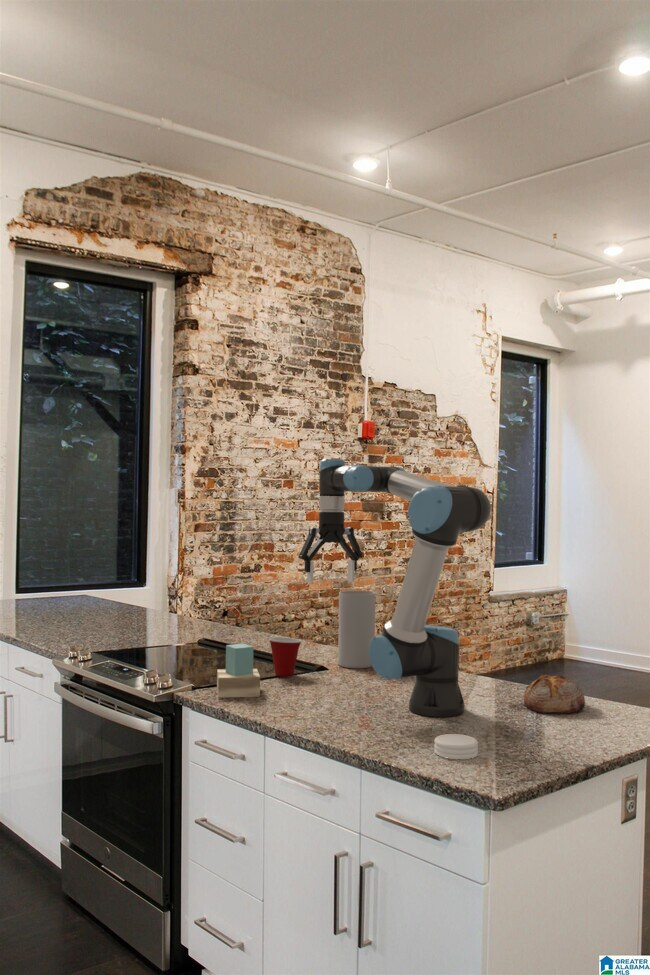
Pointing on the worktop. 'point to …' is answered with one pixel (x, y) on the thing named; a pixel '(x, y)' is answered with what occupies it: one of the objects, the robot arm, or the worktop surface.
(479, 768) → the worktop surface
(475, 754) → the coaster
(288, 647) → the plastic cup
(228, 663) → the teal block
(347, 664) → the cylinder vase
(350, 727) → the worktop surface
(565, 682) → the bread
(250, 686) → the birch block
